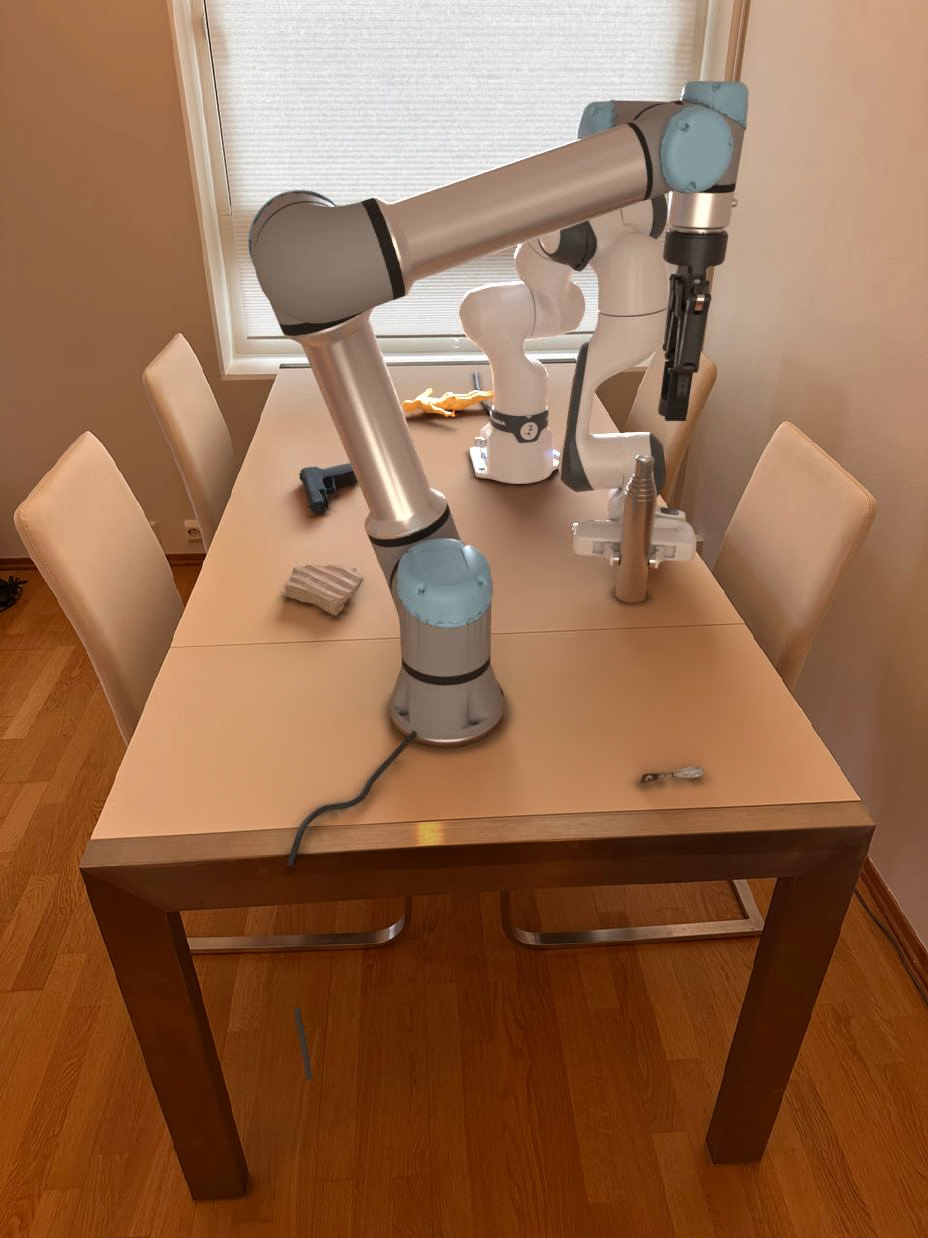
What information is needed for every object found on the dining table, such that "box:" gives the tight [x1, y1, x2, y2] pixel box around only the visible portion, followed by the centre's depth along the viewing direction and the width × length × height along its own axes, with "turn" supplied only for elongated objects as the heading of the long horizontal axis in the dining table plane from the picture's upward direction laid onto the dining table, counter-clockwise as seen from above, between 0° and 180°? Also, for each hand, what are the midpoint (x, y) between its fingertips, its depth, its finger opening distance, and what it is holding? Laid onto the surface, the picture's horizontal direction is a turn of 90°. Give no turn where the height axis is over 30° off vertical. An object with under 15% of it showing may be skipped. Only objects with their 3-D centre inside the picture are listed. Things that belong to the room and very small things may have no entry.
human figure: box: [401, 385, 493, 418], centre depth 225 cm, size 20×20×4 cm
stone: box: [283, 564, 364, 617], centre depth 148 cm, size 13×12×3 cm
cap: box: [657, 393, 690, 418], centre depth 120 cm, size 4×4×2 cm
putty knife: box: [640, 765, 705, 784], centre depth 109 cm, size 1×8×2 cm, turn 103°
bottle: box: [614, 455, 658, 604], centre depth 141 cm, size 5×5×24 cm
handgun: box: [298, 462, 359, 515], centre depth 181 cm, size 3×18×12 cm
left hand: (672, 414), depth 121 cm, fingers closed on cap, 4 cm apart
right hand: (634, 563), depth 143 cm, fingers closed on bottle, 5 cm apart
